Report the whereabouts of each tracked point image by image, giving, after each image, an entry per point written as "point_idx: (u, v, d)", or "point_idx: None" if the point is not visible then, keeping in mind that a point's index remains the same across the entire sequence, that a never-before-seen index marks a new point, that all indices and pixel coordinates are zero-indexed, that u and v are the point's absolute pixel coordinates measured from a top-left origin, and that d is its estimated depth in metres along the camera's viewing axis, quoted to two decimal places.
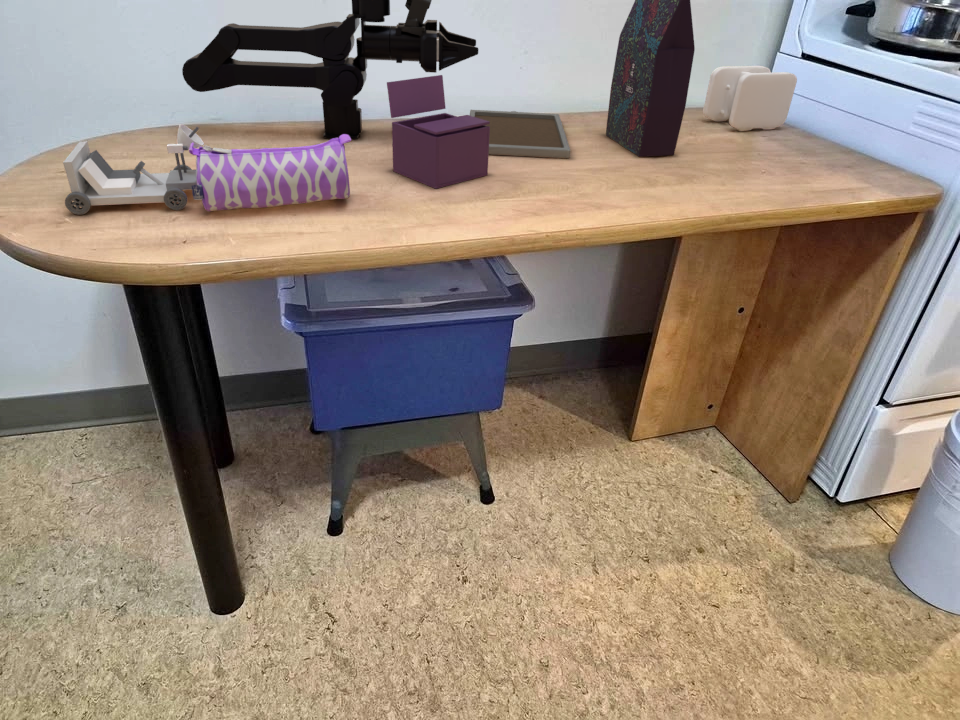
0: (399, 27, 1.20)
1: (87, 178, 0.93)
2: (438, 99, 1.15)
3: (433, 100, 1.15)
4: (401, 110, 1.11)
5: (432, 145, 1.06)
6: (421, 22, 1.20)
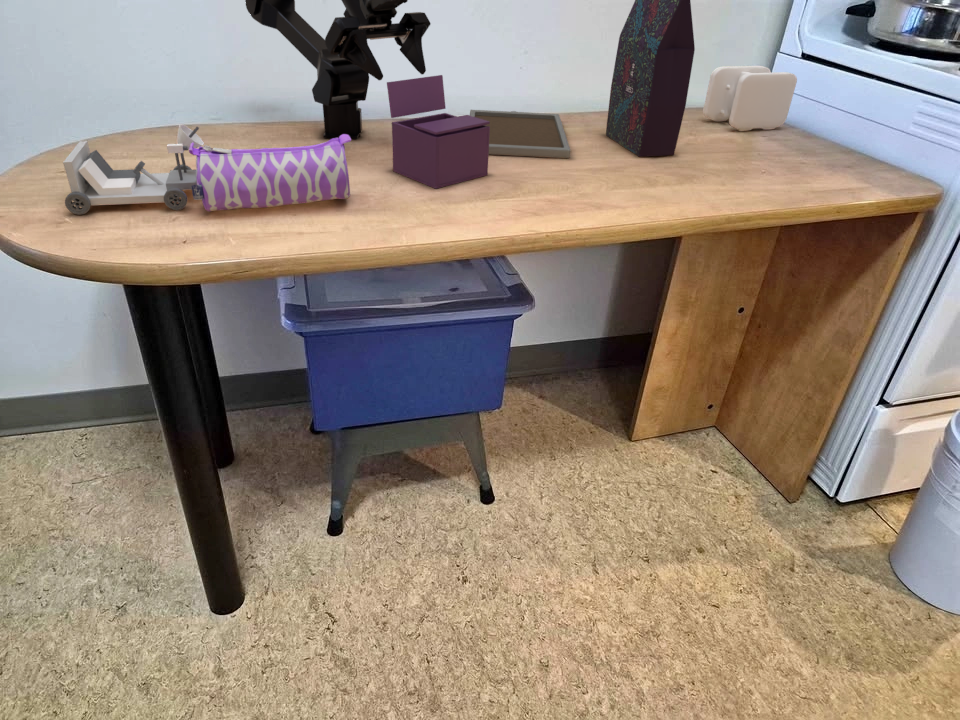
0: None
1: (87, 178, 0.93)
2: (438, 99, 1.15)
3: (433, 100, 1.15)
4: (401, 110, 1.11)
5: (432, 145, 1.06)
6: (372, 7, 1.10)
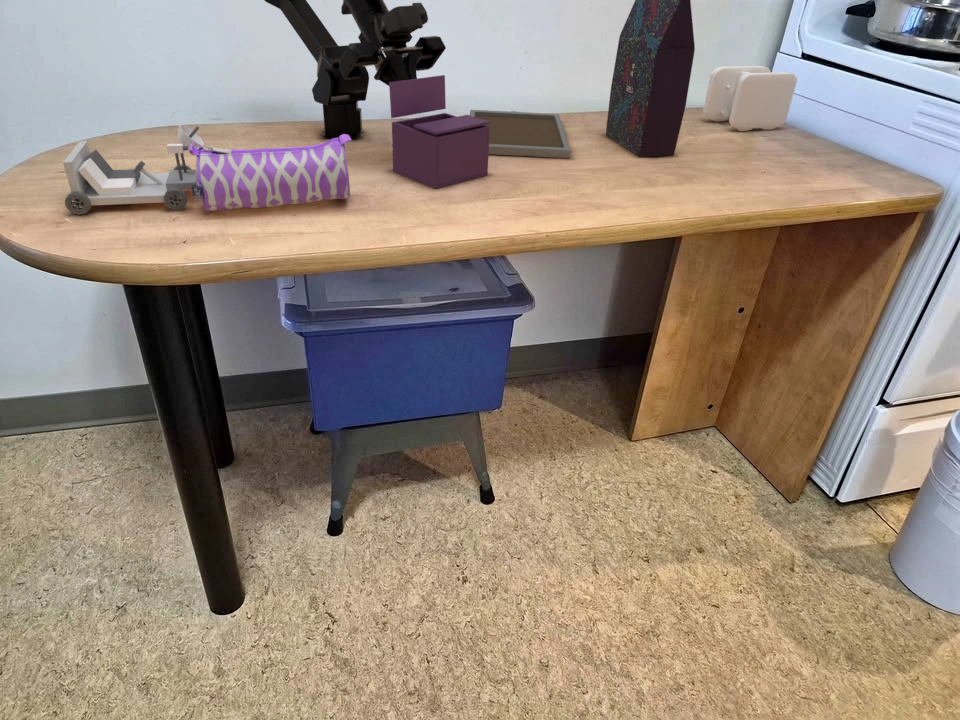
0: (373, 16, 1.10)
1: (87, 178, 0.93)
2: (439, 99, 1.15)
3: (434, 100, 1.15)
4: (401, 110, 1.11)
5: (432, 145, 1.06)
6: (387, 33, 1.09)
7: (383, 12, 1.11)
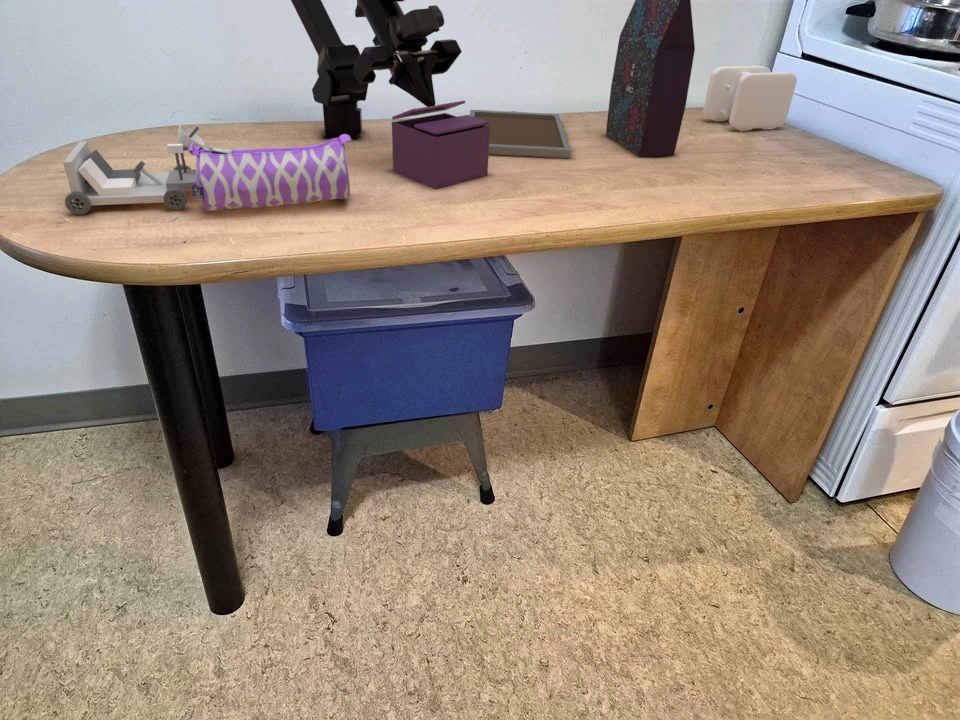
0: (389, 19, 1.08)
1: (87, 178, 0.93)
2: (445, 109, 1.15)
3: (440, 110, 1.14)
4: (405, 116, 1.11)
5: (432, 145, 1.06)
6: (402, 36, 1.07)
7: (398, 15, 1.09)
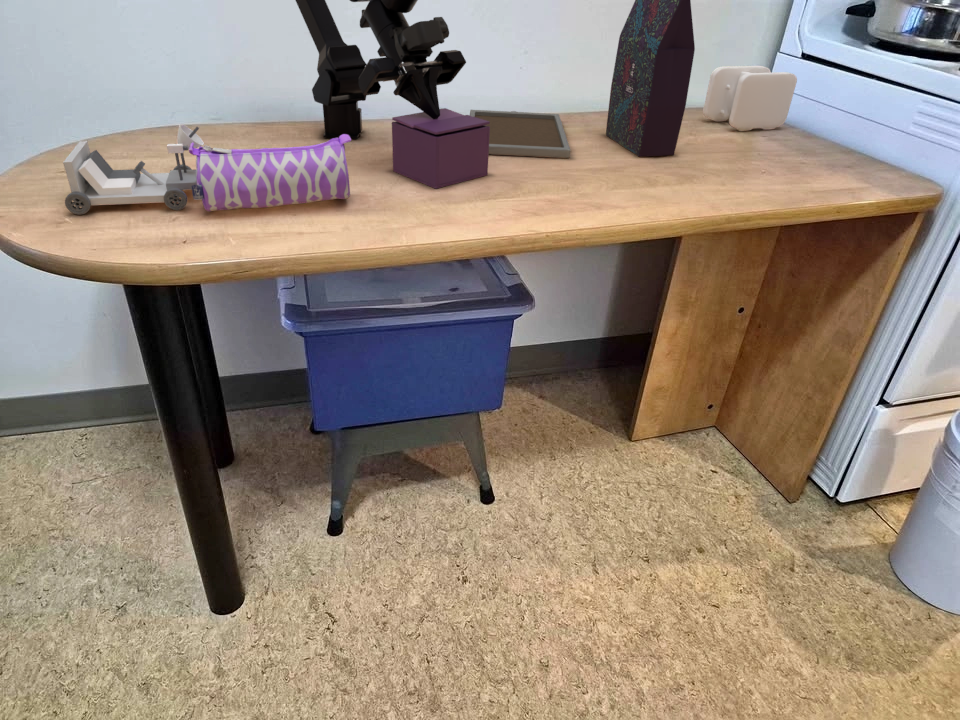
0: (394, 30, 1.08)
1: (87, 178, 0.93)
2: None
3: None
4: None
5: (432, 145, 1.06)
6: (407, 48, 1.07)
7: (403, 26, 1.09)
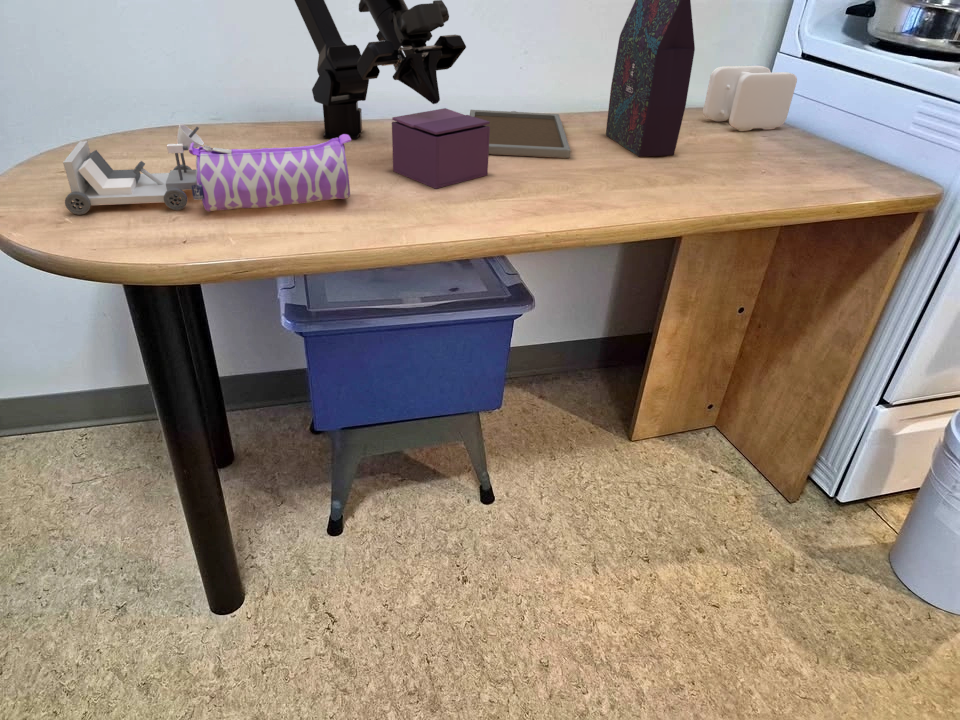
0: (393, 14, 1.06)
1: (87, 178, 0.93)
2: None
3: None
4: None
5: (432, 145, 1.06)
6: (407, 31, 1.06)
7: (403, 10, 1.08)
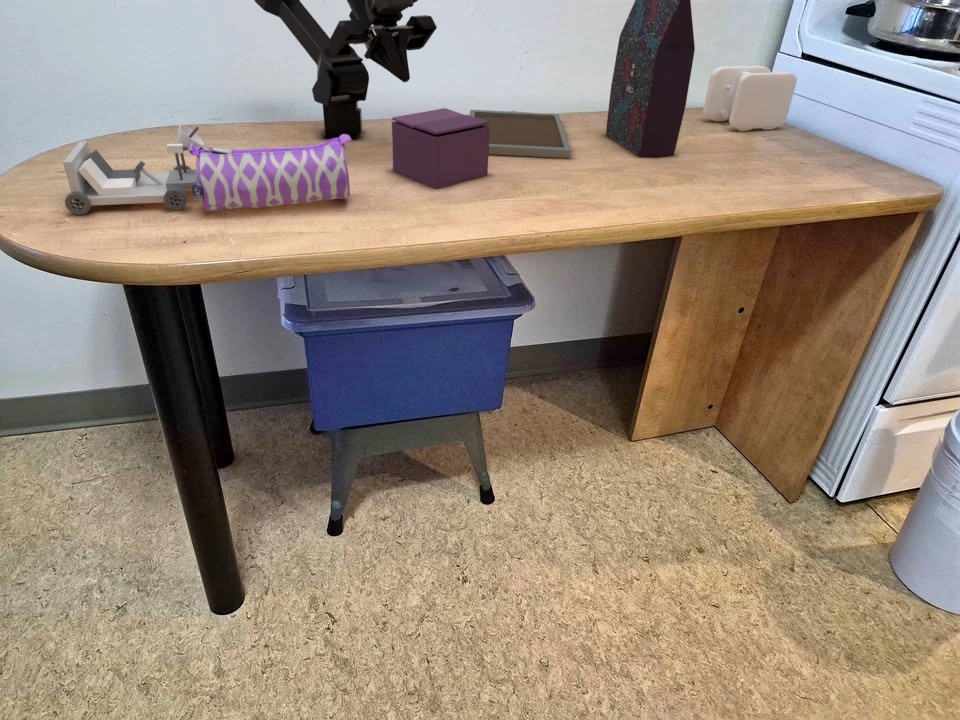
0: None
1: (87, 178, 0.93)
2: None
3: None
4: None
5: (432, 145, 1.06)
6: (377, 11, 1.09)
7: None
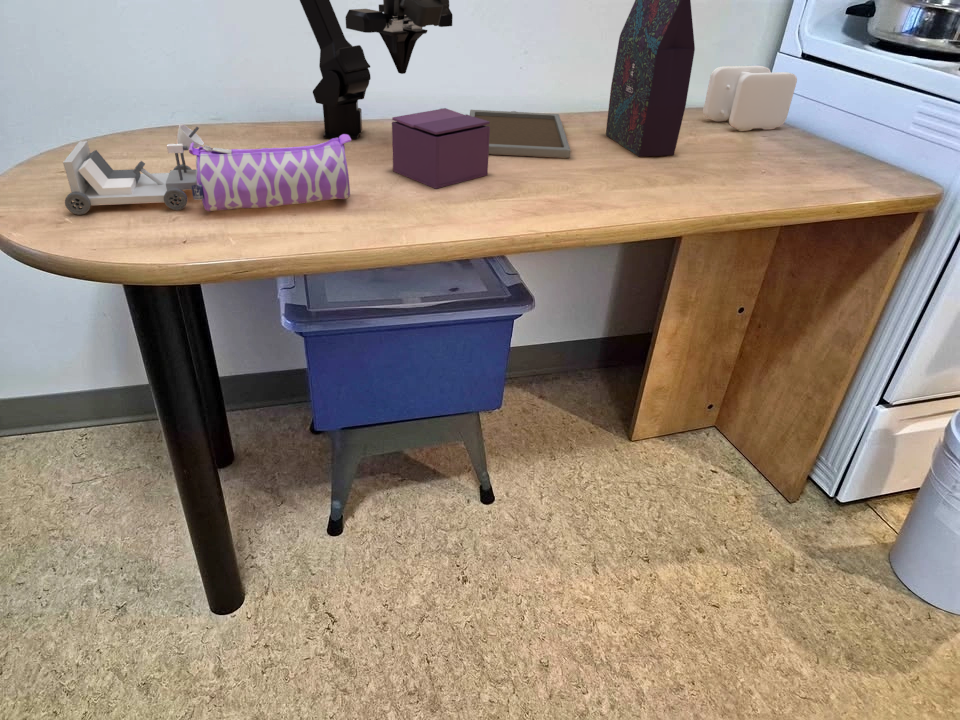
0: None
1: (87, 178, 0.93)
2: None
3: None
4: None
5: (432, 145, 1.06)
6: (404, 12, 1.10)
7: None
